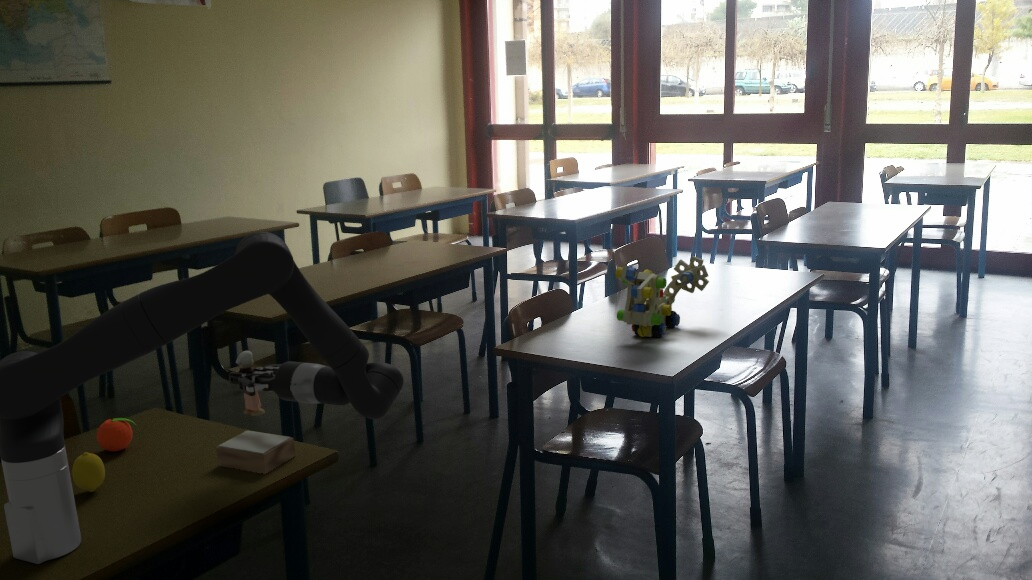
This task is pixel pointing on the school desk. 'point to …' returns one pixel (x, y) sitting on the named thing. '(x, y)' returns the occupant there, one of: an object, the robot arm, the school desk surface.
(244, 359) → the grandmother figurine
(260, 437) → the plinth
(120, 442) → the clementine
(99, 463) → the lemon
